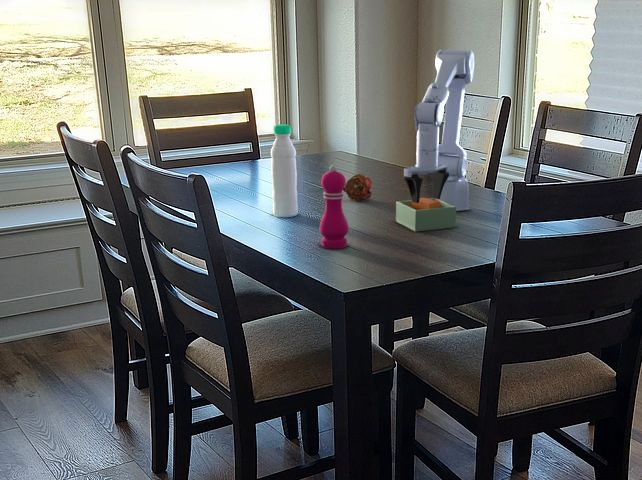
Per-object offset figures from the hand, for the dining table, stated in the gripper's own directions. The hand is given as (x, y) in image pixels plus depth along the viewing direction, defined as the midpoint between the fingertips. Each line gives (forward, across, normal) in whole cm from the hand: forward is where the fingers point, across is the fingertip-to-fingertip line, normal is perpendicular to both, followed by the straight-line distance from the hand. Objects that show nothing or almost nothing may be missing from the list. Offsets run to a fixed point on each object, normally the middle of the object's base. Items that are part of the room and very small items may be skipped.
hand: (426, 200), depth 231 cm
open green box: (+7, 0, 0) cm, 7 cm away
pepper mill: (+7, +33, +3) cm, 34 cm away
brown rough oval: (+7, -4, -36) cm, 37 cm away
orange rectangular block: (+6, 0, 0) cm, 6 cm away
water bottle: (+7, +24, -32) cm, 41 cm away
